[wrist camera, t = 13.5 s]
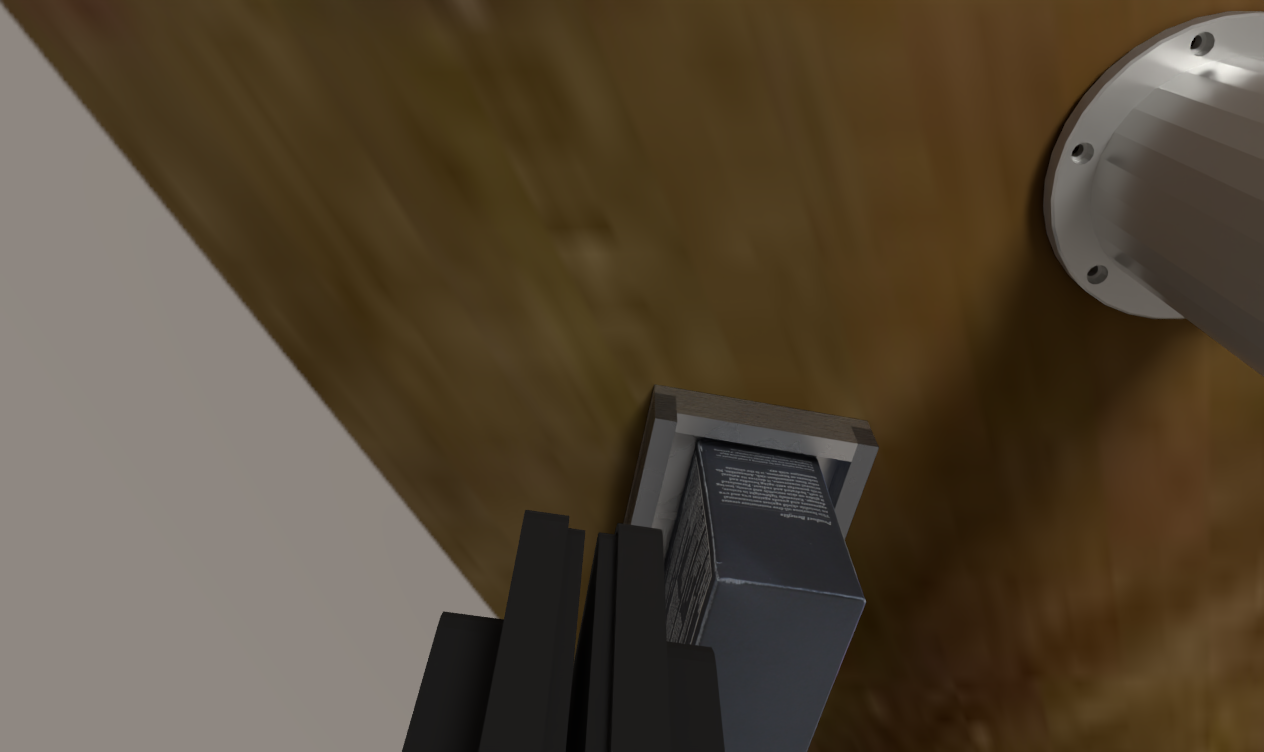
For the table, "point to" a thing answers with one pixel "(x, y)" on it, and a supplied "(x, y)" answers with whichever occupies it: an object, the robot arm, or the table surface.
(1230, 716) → the table surface
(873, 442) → the rail seat
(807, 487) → the small box
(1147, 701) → the table surface
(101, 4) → the table surface
